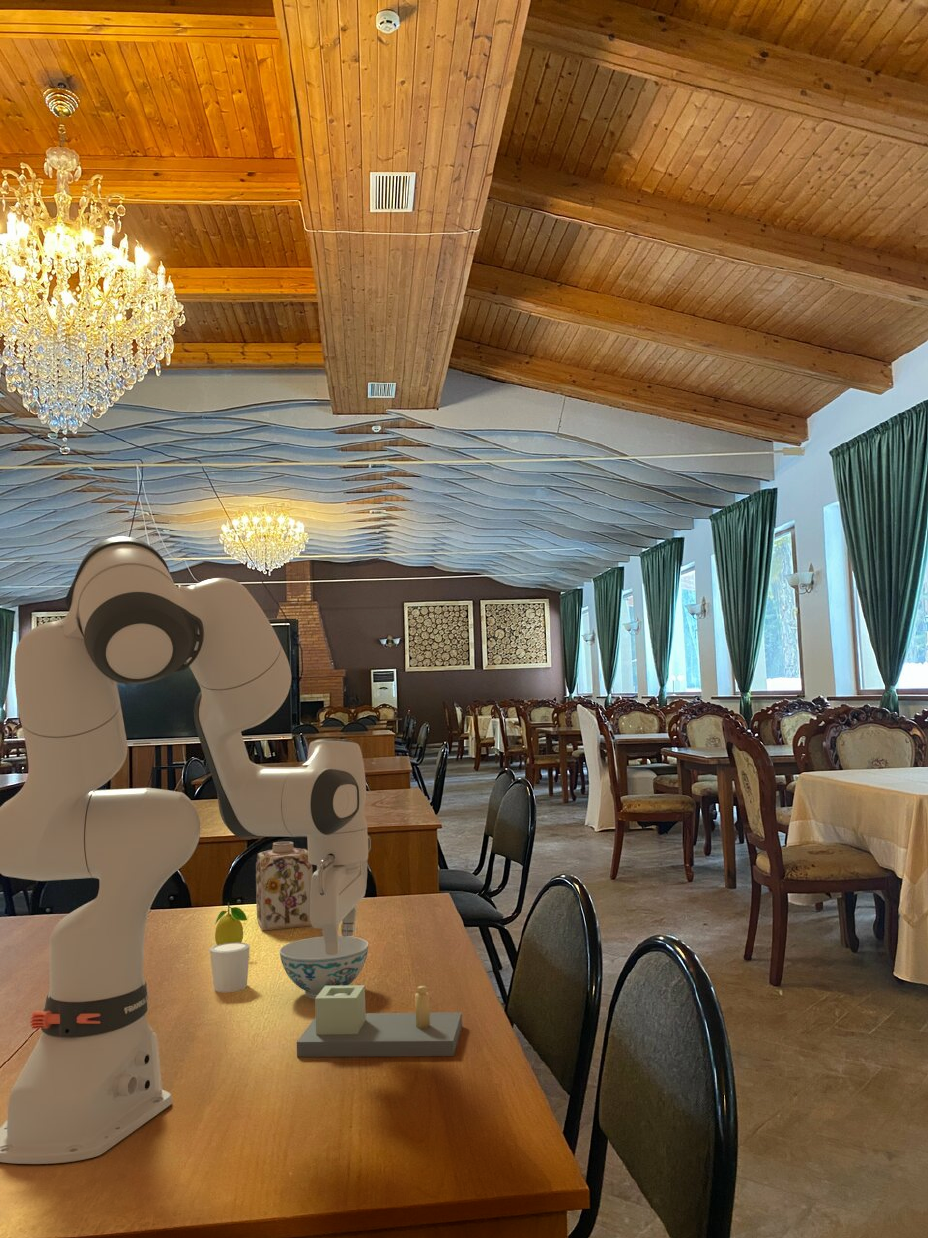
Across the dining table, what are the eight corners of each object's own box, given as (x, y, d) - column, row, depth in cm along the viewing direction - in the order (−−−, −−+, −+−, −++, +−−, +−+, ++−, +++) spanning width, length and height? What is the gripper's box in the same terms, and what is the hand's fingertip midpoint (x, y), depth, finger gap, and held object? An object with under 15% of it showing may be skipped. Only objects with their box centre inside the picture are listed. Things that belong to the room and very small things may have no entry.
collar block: (357, 1034, 136) (356, 998, 136) (316, 1034, 137) (315, 998, 137) (365, 1020, 142) (364, 985, 142) (326, 1020, 142) (325, 985, 143)
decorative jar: (256, 921, 220) (254, 841, 222) (307, 915, 224) (305, 837, 225) (261, 932, 209) (259, 848, 210) (314, 926, 212) (312, 844, 214)
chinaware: (284, 1012, 153) (283, 963, 154) (277, 986, 168) (276, 941, 168) (377, 1000, 157) (375, 952, 158) (362, 976, 172) (360, 932, 172)
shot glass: (240, 994, 164) (239, 952, 165) (203, 993, 166) (202, 951, 166) (256, 982, 171) (256, 942, 172) (221, 981, 172) (220, 941, 173)
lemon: (247, 955, 190) (247, 903, 191) (217, 959, 188) (216, 907, 188) (242, 947, 196) (241, 897, 197) (213, 951, 194) (212, 901, 195)
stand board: (453, 1056, 132) (451, 1000, 132) (297, 1057, 134) (295, 1001, 134) (462, 1026, 143) (460, 974, 144) (318, 1027, 145) (316, 976, 146)
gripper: (342, 862, 130) (345, 965, 130) (372, 836, 151) (375, 925, 150) (297, 863, 131) (300, 965, 130) (333, 837, 151) (336, 926, 151)
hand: (340, 944), depth 140 cm, fingers open, 8 cm apart
